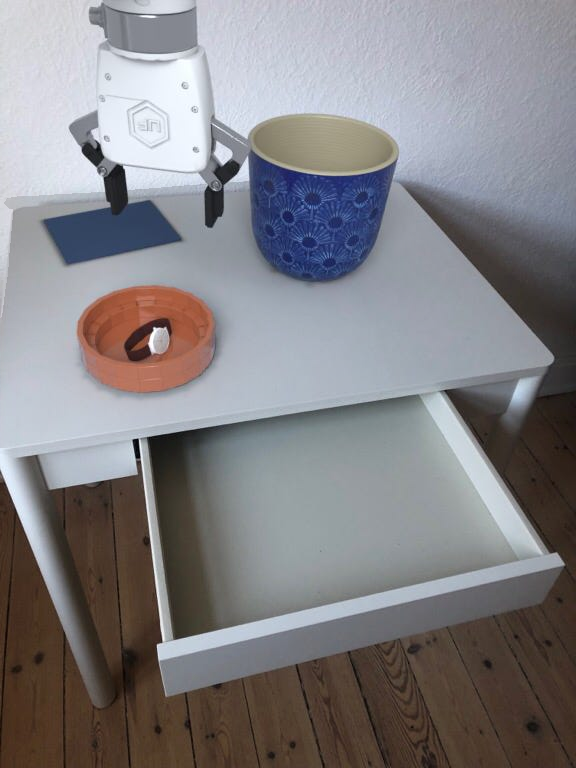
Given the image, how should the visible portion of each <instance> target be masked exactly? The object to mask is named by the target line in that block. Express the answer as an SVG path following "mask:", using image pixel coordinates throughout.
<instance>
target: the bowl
mask: <svg viewBox="0 0 576 768" xmlns="http://www.w3.org/2000/svg"><path fill="white" fill-rule="evenodd" d="M160 318H167V319H169V321H170V325H171V330H172V334H171V336H170V337H169V344H168V347H167V349H166V351H165V352H164V353H161V354H155V353H154V354H153V355H152V354H151V355H150V356H149V357H147V358H145V359H143V360H140V361H131V360H129V359H128V356H127V354H126V351H125V349H124V344H125V342H126V340H127V339H128V338H129V337H130V336H131V334H132V333H133V332H134V331H135V330H136V329H138V328H139V327H141V326H143V325H144V324H146V323H148V322H150V321H152V320H155V319H160ZM215 326H216V325H215V320H214V313H213V312H212V310H211V309H210V308H209V306H208V305H207V304H206V302H205V301H204V300H203V299H201V298H199V297H198V296H196V295H195V294H193V293H191V292H189V291H186V290H182V289H181V288H180V289H179V288H177V287H174V286H166V285H158V284H149V285H135V286H129V287H126V288H122V289H116V290H114V291H111V292H109V293H107V294H105V295H103V296H101V297H98V298H97V299H96V300H95V301H93V302H92V303H91V304H89V305H88V306H87V307H86V308H85V309H84V310H83V312H82V314H81V316H80V317H79V319H78V320H77V325H76V338H77V342H78V347H79V353H80V358H81V361H82V363H83V365H84V366H85V367H84V368H86V370H87V372H88V373H89V374H90V375H91V376H92V377H94V378H95V379H96V380H97V381H98V382H100V383H101V384H103V385H106V386H109V387H111V388H114V389H116V390H120V391H127V392H134V393H150V392H151V393H152V392H162V391H166V390H169V389H172V388H176V387H179V386H182V385H185V384H186V383H188V382H190V381H191V380H193V379H195V378H197V377H198V376H200V375H201V374H202V373H203V372H204V371H205V369H206V368H208V366H209V365H210V364H211V363H212V360H213V356H214V354H215V350H216V331H215V330H216V327H215ZM151 334H152V333H151ZM151 334H149V335H147V336H146V337H144V339H143V340H141V341H140V342H139V343H138V344H136V345H135V346H134V347H133V348H132V350H131V351H135V350H138V349H141V348H142V347H144V346H146V345H147V344H148V343H149V340H150V336H151Z"/></svg>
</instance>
